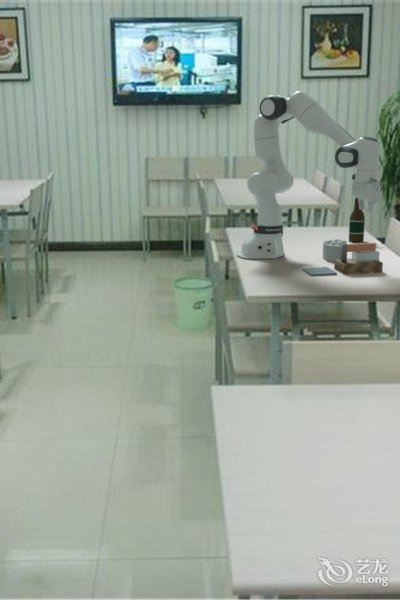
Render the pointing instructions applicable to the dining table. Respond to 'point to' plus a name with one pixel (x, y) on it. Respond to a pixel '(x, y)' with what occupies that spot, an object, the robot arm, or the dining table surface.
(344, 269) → the body
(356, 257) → the grey-blue rectangular block
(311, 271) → the pad
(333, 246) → the paw pad
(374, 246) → the cam lever
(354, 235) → the beer bottle
